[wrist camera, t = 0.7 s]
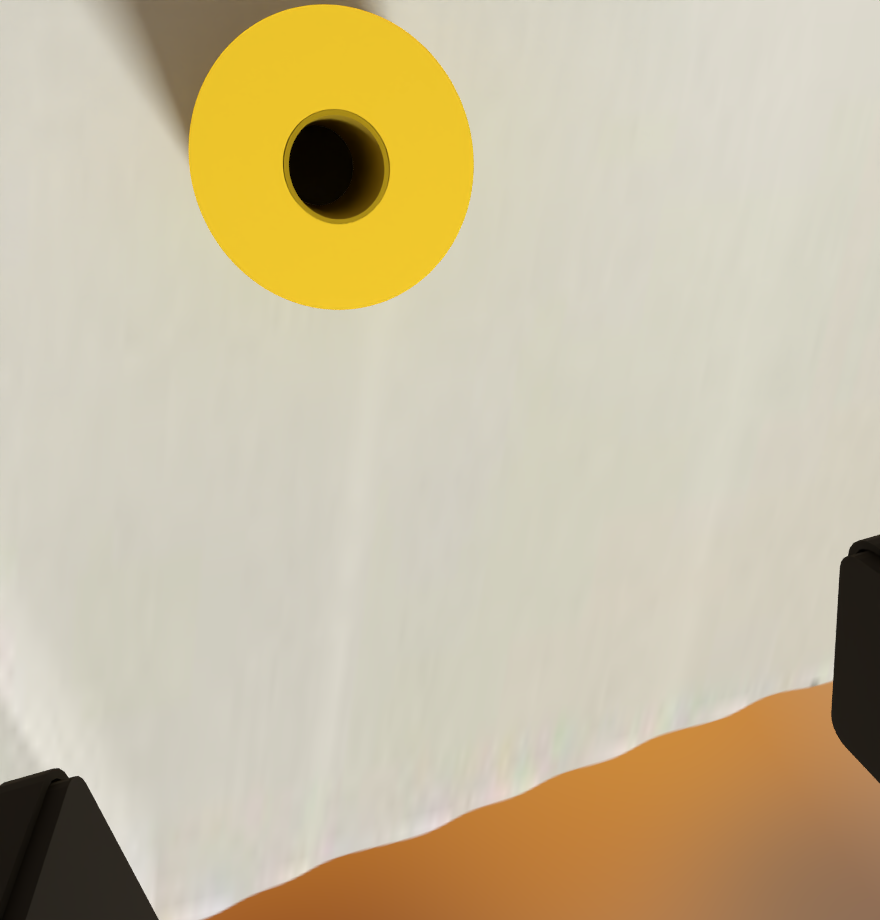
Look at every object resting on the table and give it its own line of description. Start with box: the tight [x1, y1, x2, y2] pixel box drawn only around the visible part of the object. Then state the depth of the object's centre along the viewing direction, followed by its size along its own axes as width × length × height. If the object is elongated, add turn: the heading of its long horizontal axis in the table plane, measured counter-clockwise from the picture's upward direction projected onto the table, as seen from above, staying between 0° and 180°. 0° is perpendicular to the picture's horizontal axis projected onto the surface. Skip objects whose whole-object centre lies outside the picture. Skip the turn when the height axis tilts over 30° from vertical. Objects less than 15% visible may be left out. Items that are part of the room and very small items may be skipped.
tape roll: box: [189, 4, 474, 310], centre depth 31 cm, size 10×10×9 cm
